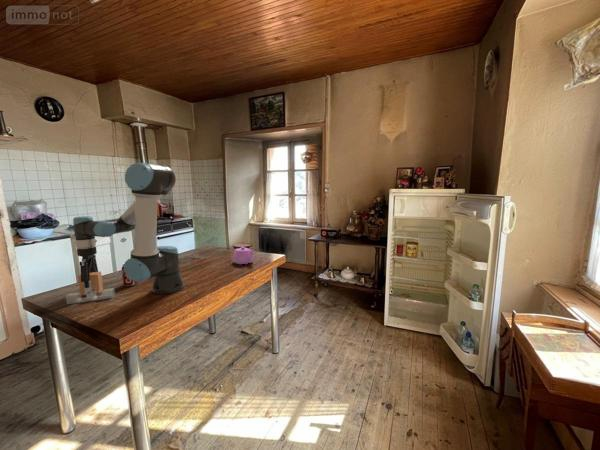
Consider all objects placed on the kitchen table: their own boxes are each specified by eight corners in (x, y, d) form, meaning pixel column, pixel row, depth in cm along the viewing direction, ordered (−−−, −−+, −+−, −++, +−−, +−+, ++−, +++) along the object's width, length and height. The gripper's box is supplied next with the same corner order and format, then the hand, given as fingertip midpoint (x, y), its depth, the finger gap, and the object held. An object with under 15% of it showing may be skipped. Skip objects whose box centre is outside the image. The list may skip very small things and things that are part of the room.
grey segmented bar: (115, 295, 129) (114, 287, 128) (113, 297, 126) (112, 290, 125) (70, 301, 122) (69, 293, 122) (67, 304, 119) (65, 296, 118)
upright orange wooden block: (103, 289, 136) (100, 271, 134) (99, 293, 131) (97, 274, 130) (84, 291, 133) (82, 273, 131) (80, 295, 128) (77, 276, 127)
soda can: (136, 281, 147) (134, 261, 145) (139, 284, 142) (137, 264, 141) (122, 284, 142) (120, 263, 141) (124, 288, 138) (122, 266, 136)
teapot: (227, 263, 183) (227, 247, 181) (241, 258, 194) (241, 243, 192) (247, 268, 172) (246, 251, 170) (261, 263, 182) (260, 247, 181)
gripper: (85, 243, 137) (90, 283, 140) (67, 252, 117) (73, 299, 121) (102, 242, 139) (107, 282, 143) (87, 251, 120) (93, 297, 123)
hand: (91, 290), depth 132 cm, fingers open, 8 cm apart
